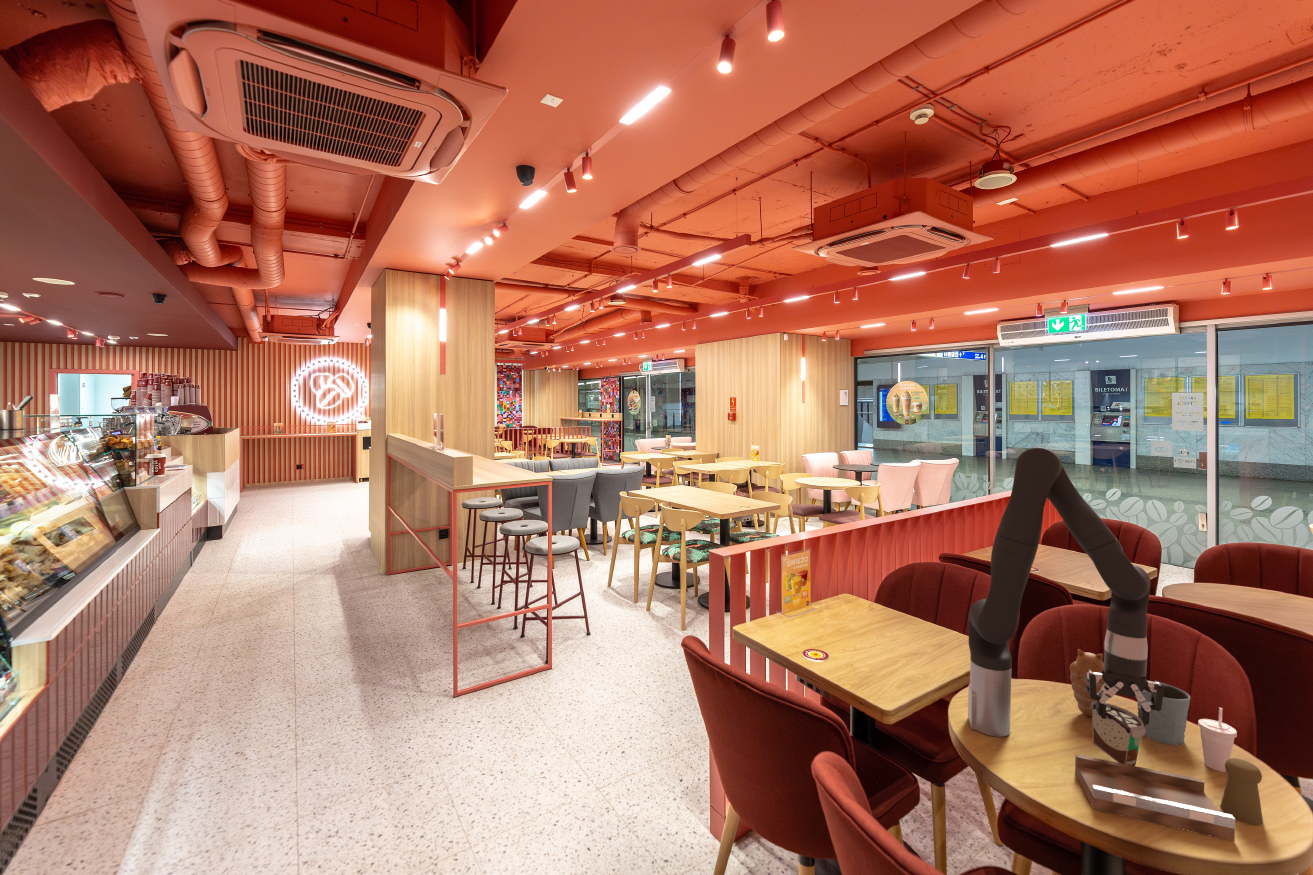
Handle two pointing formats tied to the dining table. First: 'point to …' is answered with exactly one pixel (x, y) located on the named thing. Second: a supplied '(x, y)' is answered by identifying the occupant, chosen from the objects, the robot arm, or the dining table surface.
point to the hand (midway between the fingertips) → (1121, 720)
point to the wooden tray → (1152, 797)
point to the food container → (1117, 733)
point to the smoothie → (1216, 742)
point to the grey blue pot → (1168, 716)
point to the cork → (1242, 792)
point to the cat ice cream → (1080, 681)
